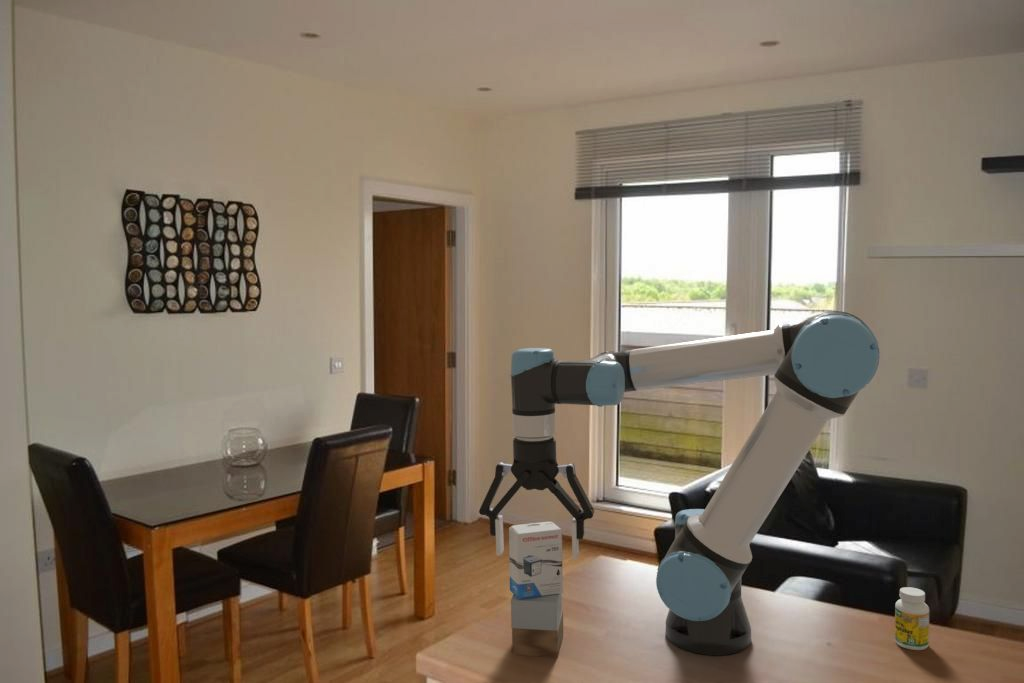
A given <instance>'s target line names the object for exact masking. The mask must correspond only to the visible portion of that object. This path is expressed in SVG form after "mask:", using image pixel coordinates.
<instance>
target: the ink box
mask: <svg viewBox="0 0 1024 683" xmlns="http://www.w3.org/2000/svg"><path fill="white" fill-rule="evenodd" d="M508 542H509V543H508V545H509V546H508V547H509V548H508V550H509V555H508V556H509V562H508V564H509V591H510V592H511V593H512V595H513V594H514V595H515V596H516V597H517V598H518V599H524V598H531V597H539V596H546V595H553V594H560V593H562V594H563V593H564V590H563V588H564V585H563V582H564V581H563V580H564V579H563V577H564V576H563V529H562V528H561V527H559V526H558V525H557V524H555V522H553V521H541V522H540V521H539V522H531V523H523V524H514V525H511V526H510V527H508Z"/></svg>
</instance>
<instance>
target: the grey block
mask: <svg viewBox="0 0 1024 683" xmlns="http://www.w3.org/2000/svg"><path fill="white" fill-rule="evenodd" d="M562 594H563V593H560V594H553V595H546V596H539V597H531V598H524V599H518V598H517V597H516V596H515V595H514V594H513V593H512V597H511V598H510V618H511V619H510V622H511V623H510V625H511V626H510V628H511V629H512V628H518V629H536V630H553V631H557V629H558V625H559V621H560V617H561V613H562V611H563V610H562V609H563V605H562V604H563V601H562V600H563V598H562V597H563V596H562Z"/></svg>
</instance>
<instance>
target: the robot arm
mask: <svg viewBox="0 0 1024 683" xmlns="http://www.w3.org/2000/svg"><path fill="white" fill-rule="evenodd" d="M880 353H881V352H880V348H879V343H878V340H877V338H876V336H875V334H874V333H873V331H872V330H871V328H870V327H869V326H868V325H867V324H866V323H865V322H864V321H863V320H862V319H861V318H860V317H857V316H855V315H854V314H851V313H849V312H846V311H839V310H829V311H825V312H821V313H819V314H816V315H813V316H810V317H809V316H808V317H806V318H802V319H797V320H792V321H784V322H779V324H778V325H777V326H776V327H775V328H774V329H772V330H771V329H770V330H763V331H757V332H748V333H742V334H741V333H740V334H734V335H729V336H728V335H727V336H726V335H725V336H721V337H713V338H707V339H700V340H699V339H698V340H692V341H691V340H690V341H686V342H677V343H669V344H663V345H656V346H650V347H649V346H648V347H643V348H641V347H640V348H635V349H630V350H628V349H627V350H620V351H615V350H614V351H613V350H610V351H605V352H601V353H599V354H598V355H596V356H593V357H590V358H588V359H586V360H560V359H556V357H555V355H554V351H553V350H552V349H551V348H548V347H547V348H544V347H527V348H520V349H519V348H518V349H516V350H514V351H513V352H512V354H511V356H510V357H511V358H510V359H511V360H510V361H511V362H510V364H511V365H510V376H509V377H510V385H511V388H510V389H511V403H512V404H511V406H512V409H511V411H512V412H511V413H512V414H511V415H512V417H511V419H512V420H511V421H512V435H513V436H514V439H513V440H512V450H513V451H512V452H513V453H512V454H513V463H512V464H510V463H505V462H504V461H503V460H502V461H499V462H498V463H497V464H496V465H495V471H494V472H495V474H494V477H493V480H492V483H491V484H490V485H489V489H488V491H487V493H486V495H485V497H484V499H483V501H482V504H481V506H480V508H479V510H478V513H479V515H481V516H486V517H488V518H489V533H490V535H491V536H492V537H495V550H496V552H495V556H498V557H499V556H500V557H501V556H502V554H503V553H504V550H505V549H504V547H505V546H504V542H505V541H504V516H503V515H501V514H500V513H501V511H502V510H503V509H504V508H505V506H506V505H507V504H508V503H509V502H510V500H511V499H512V498H513V497H514V496H515V495H516V493H517V492H518V491H519V490H520V489H521V487H522V488H523V489H525V491H531V490H537V491H544V490H546V489H548V490H549V491H550V493H551V494H553V495H554V496H555V497H556V499H557V500H558V501H559V502H560V504H562V506H563V507H564V508H565V509H566V510H567V511H568V512H569V514H570V515H571V516H572V517H573V519H572V521H571V549H572V551H571V552H572V560H577V559H578V557H579V555H580V552H579V547H580V546H579V544H580V543H579V540H583V539H584V536H585V520H588V519H592V518H593V517H594V515H595V509H594V507H593V506H592V503H591V502H590V498H588V495H587V494H586V492H585V490H584V488H583V486H582V484H581V482H580V480H579V479H578V476H577V474H576V467H575V466H576V465H575V464H574V463H573V462H568V463H567V464H563V465H562V464H561V465H559V464H558V460H557V439H556V438H555V437H554V435H555V434H556V432H557V431H556V430H557V429H556V405H576V406H577V405H579V406H582V405H583V406H597V407H600V408H602V407H604V406H618V405H619V404H621V402H622V400H623V397H624V394H625V393H629V392H635V391H644V390H652V389H660V388H668V387H669V388H670V387H676V386H685V385H694V384H703V383H712V382H713V383H714V382H721V381H729V380H738V379H745V378H746V379H747V378H749V379H750V378H755V377H757V378H758V377H763V376H772V375H773V379H774V382H775V386H776V391H775V393H774V395H773V397H771V400H770V401H769V403H768V405H767V407H766V408H765V410H764V412H763V413H762V415H761V417H760V418H759V419H758V421H757V423H756V425H755V426H754V428H753V429H752V431H751V433H750V435H749V436H748V438H747V439H746V441H745V443H743V446H742V448H741V449H740V450H739V452H738V454H737V456H736V458H735V459H734V460H733V462H732V464H731V465H730V467H729V469H728V470H727V473H726V474H725V476H724V477H723V479H722V481H721V482H720V484H719V486H718V487H717V488H716V491H715V492H714V494H713V496H712V497H711V498H710V500H709V502H708V503H707V505H706V507H705V509H704V508H689V509H683V510H680V511H678V512H677V513H676V515H675V518H674V523H673V526H674V530H675V532H674V533H675V534H674V540H673V542H672V543H671V545H670V547H669V549H668V550H667V552H666V554H665V556H664V557H663V559H662V560H661V561H660V562H659V564H658V567H657V572H656V576H655V577H656V578H655V579H656V580H655V585H656V590H657V592H658V594H659V598H660V599H661V601H662V602H663V603H664V605H665V606H666V607H667V609H668V612H667V616H666V619H665V636H666V638H667V640H669V642H671V644H673V645H675V646H676V647H679V648H680V649H681V650H685V651H688V652H692V653H695V654H701V655H710V656H724V655H731V654H736V653H740V652H742V651H744V650H746V649H747V648H748V647H749V646H750V645H751V643H752V628H751V627H752V626H751V623H750V620H749V617H748V615H747V611H746V607H745V605H744V601H743V599H742V577H743V574H744V573H745V571H746V569H747V568H748V567H749V565H750V563H751V562H752V559H753V554H752V550H751V547H750V545H751V543H752V541H753V539H754V538H755V537H756V535H757V533H758V532H759V530H760V528H761V527H762V525H763V524H764V522H765V521H766V519H767V518H768V516H769V514H770V513H771V511H772V510H773V508H774V506H775V505H776V503H777V501H778V500H779V498H780V496H781V495H783V494H782V493H783V492H784V491H785V489H786V488H787V486H788V484H789V482H790V481H791V480H792V478H793V476H794V475H795V473H796V471H797V470H798V468H799V467H800V465H801V464H802V462H803V460H804V459H805V457H806V456H807V454H808V453H809V451H810V450H811V448H812V446H813V445H814V443H815V441H816V440H817V439H818V437H819V435H820V434H821V432H822V430H823V429H824V427H825V426H826V424H827V422H828V421H830V420H832V419H836V418H840V417H844V416H845V414H846V413H847V411H848V409H849V408H850V406H851V405H852V404H853V402H854V400H855V398H856V397H857V396H858V394H859V392H860V391H861V390H862V389H864V388H865V387H866V386H867V385H868V384H870V382H871V381H872V380H873V378H874V377H875V375H876V373H877V370H878V367H879V364H880ZM509 472H511V474H512V476H514V478H515V480H516V481H515V482H514V483H513V485H512V486H511V487H510V488H509V489H508V491H507V492H506V493H505V494H504V495H503V497H502V498H501V499H500V500H499V501H498V502H497V504H496V505H495V506H494V507H493V508H492V507H491V504H493V501H494V498H495V496H496V494H497V492H498V490H499V488H500V486H501V484H502V482H503V480H504V477H506V476H507V475H508V474H509ZM559 473H561V474H562V476H563V478H565V479H567V483H568V484H569V486H570V488H571V490H572V492H573V494H574V496H575V498H576V499H577V502H578V503H579V505H580V507H579V506H578V504H577V503H576V502H575V501H574V500H573V498H572V497H571V496H570V495H569V494H568V493H567V491H565V489H564V487H563V486H561V484H560V482H559V481H558V479H556V477H557V475H558V474H559Z"/></svg>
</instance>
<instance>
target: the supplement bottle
mask: <svg viewBox="0 0 1024 683" xmlns="http://www.w3.org/2000/svg"><path fill="white" fill-rule="evenodd" d="M899 598H900V599H898V600H897V601H896V602H895V604H894V605H895V606H894V608H895V609H894V611H895V612H894V640H895V643H896V644H897V645H898V646H900V647H901V648H904V649H906V650H911V651H912V650H913V651H922V650H926V649H927V648H928V647H929V644H930V634H929V633H930V607H929V606H928V604H926V602H925V601H926V592H925V591H924V590H922V589H919V588H916V587H910V586H909V587H905V586H903V587H901V588H900V589H899Z"/></svg>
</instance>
